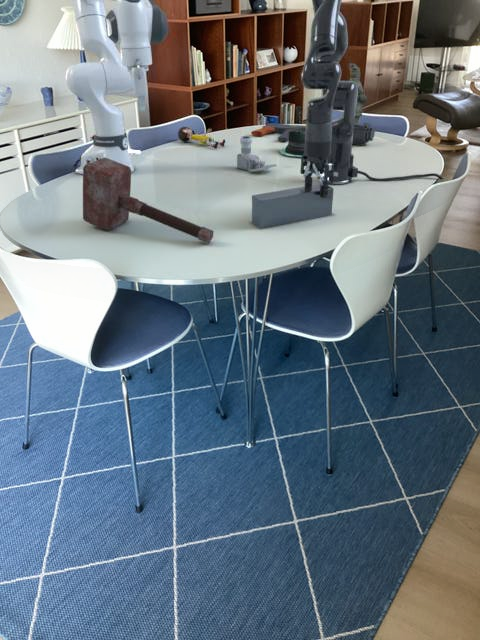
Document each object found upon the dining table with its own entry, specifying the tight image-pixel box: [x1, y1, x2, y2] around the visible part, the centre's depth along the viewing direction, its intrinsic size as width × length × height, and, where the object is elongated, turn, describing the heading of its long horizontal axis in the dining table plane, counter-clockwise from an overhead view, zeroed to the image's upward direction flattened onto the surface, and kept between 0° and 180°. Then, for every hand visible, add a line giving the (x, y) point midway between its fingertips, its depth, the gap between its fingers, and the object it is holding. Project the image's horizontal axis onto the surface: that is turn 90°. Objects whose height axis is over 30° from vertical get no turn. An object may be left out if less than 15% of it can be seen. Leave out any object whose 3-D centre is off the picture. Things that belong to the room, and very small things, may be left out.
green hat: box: [279, 128, 306, 158], centre depth 234 cm, size 15×19×20 cm
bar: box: [251, 183, 334, 229], centre depth 165 cm, size 24×6×8 cm, turn 115°
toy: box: [352, 122, 376, 146], centre depth 244 cm, size 9×9×15 cm
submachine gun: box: [250, 122, 306, 142], centre depth 262 cm, size 32×3×25 cm
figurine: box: [177, 126, 226, 150], centre depth 251 cm, size 13×8×25 cm
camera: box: [236, 135, 277, 173], centre depth 210 cm, size 9×12×15 cm
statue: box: [348, 62, 368, 125], centre depth 262 cm, size 11×9×30 cm
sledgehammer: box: [82, 158, 214, 244], centre depth 155 cm, size 17×10×40 cm
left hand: (141, 108), depth 170 cm, fingers open, 8 cm apart
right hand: (315, 193), depth 166 cm, fingers open, 8 cm apart
